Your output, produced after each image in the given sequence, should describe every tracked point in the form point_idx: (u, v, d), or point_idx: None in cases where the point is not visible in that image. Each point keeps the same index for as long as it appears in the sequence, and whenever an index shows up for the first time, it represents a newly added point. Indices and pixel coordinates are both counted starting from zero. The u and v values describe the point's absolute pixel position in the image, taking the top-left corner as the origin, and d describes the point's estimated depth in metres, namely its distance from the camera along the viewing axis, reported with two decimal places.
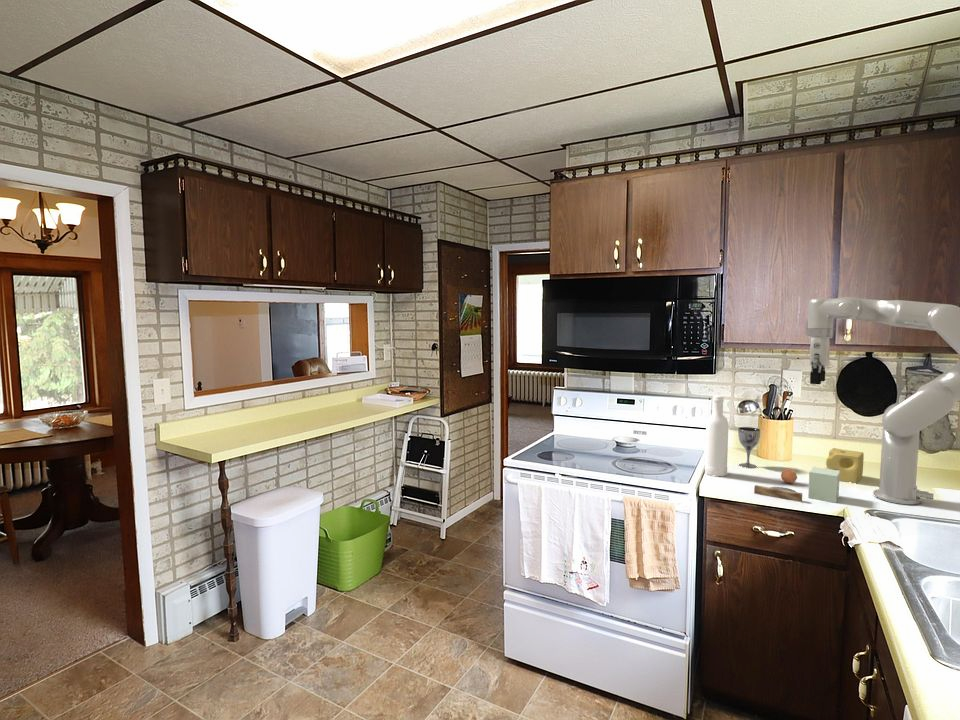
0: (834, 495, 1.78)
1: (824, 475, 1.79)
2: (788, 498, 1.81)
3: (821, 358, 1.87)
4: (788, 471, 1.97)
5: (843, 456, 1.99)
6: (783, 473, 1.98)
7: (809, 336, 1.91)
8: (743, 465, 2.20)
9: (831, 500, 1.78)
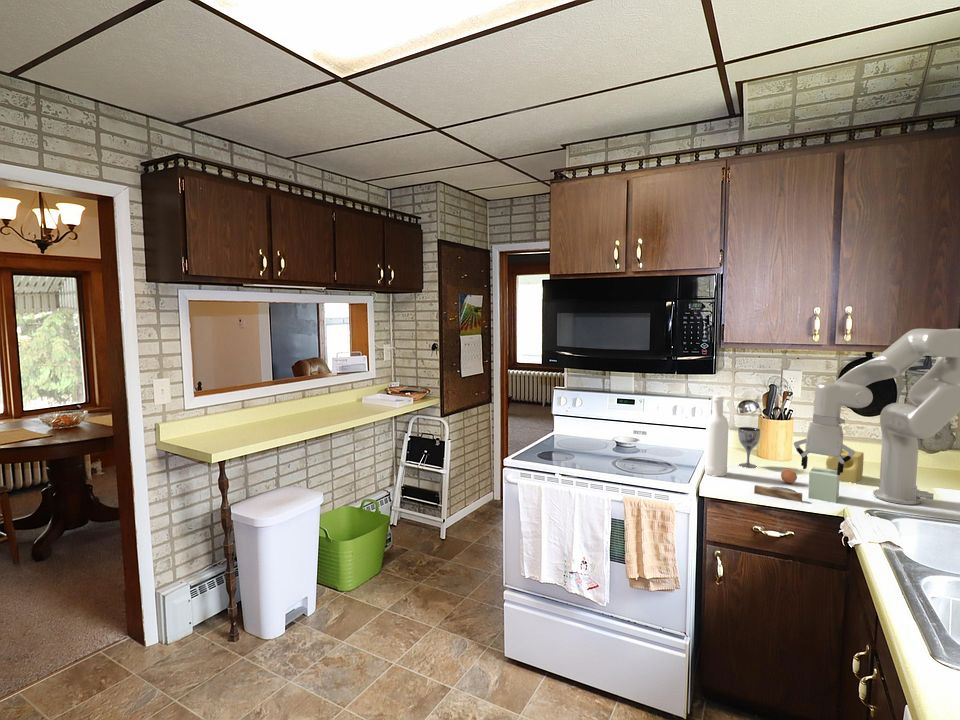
0: (834, 495, 1.78)
1: (824, 475, 1.79)
2: (788, 498, 1.81)
3: None
4: (788, 471, 1.97)
5: (843, 456, 1.99)
6: (783, 473, 1.98)
7: (833, 425, 1.77)
8: (743, 465, 2.20)
9: (831, 500, 1.78)
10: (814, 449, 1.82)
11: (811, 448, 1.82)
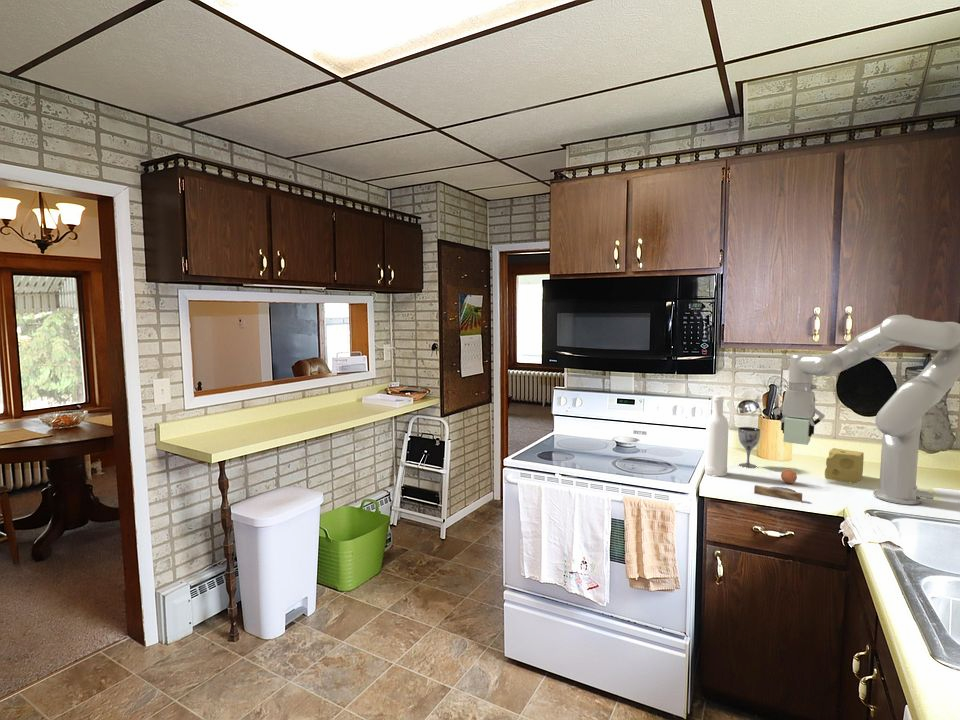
0: (806, 438, 1.99)
1: (797, 420, 2.00)
2: (788, 498, 1.81)
3: None
4: (788, 471, 1.97)
5: (843, 456, 1.99)
6: (783, 473, 1.98)
7: (806, 391, 1.98)
8: (743, 465, 2.20)
9: (803, 443, 2.00)
10: (790, 413, 2.03)
11: (787, 412, 2.03)
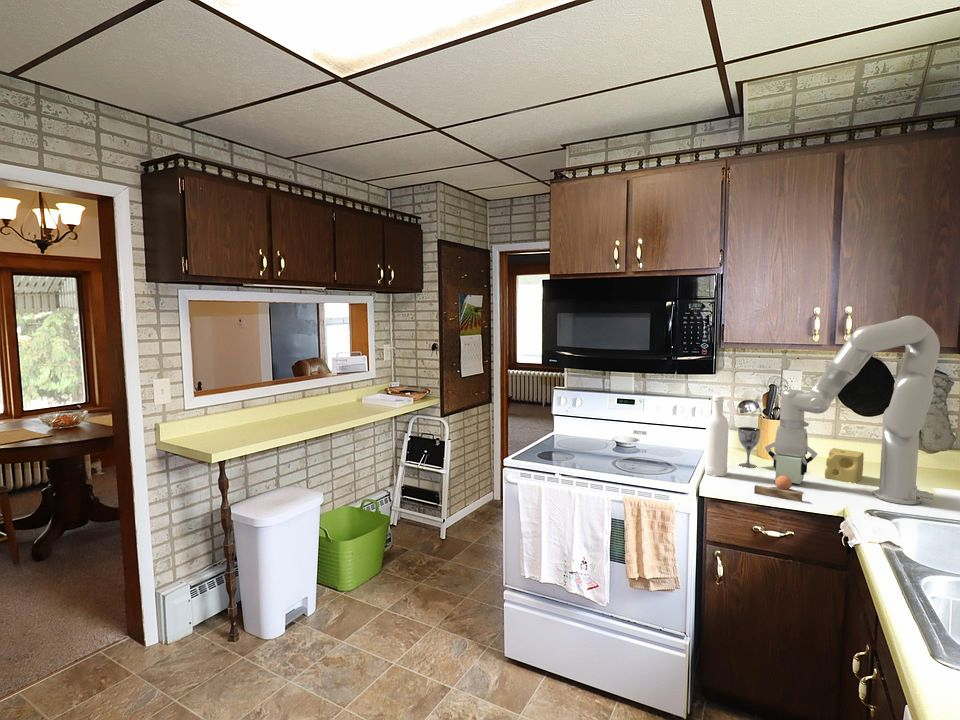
0: (798, 477, 1.94)
1: (789, 459, 1.95)
2: (788, 498, 1.81)
3: None
4: None
5: (843, 456, 1.99)
6: None
7: (798, 428, 1.94)
8: (743, 465, 2.20)
9: (796, 481, 1.94)
10: (782, 450, 1.98)
11: (779, 450, 1.98)
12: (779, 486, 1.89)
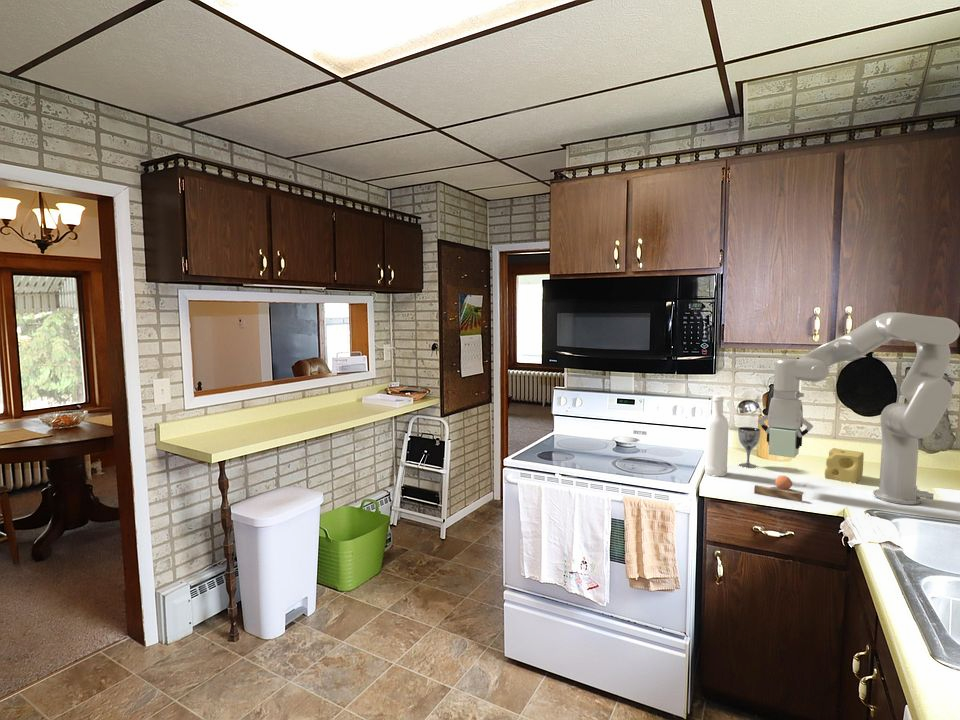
0: (793, 450, 1.83)
1: (783, 431, 1.84)
2: (788, 498, 1.81)
3: None
4: None
5: (843, 456, 1.99)
6: None
7: (792, 399, 1.83)
8: (743, 465, 2.20)
9: (790, 455, 1.84)
10: (776, 423, 1.87)
11: (773, 422, 1.87)
12: (779, 486, 1.89)
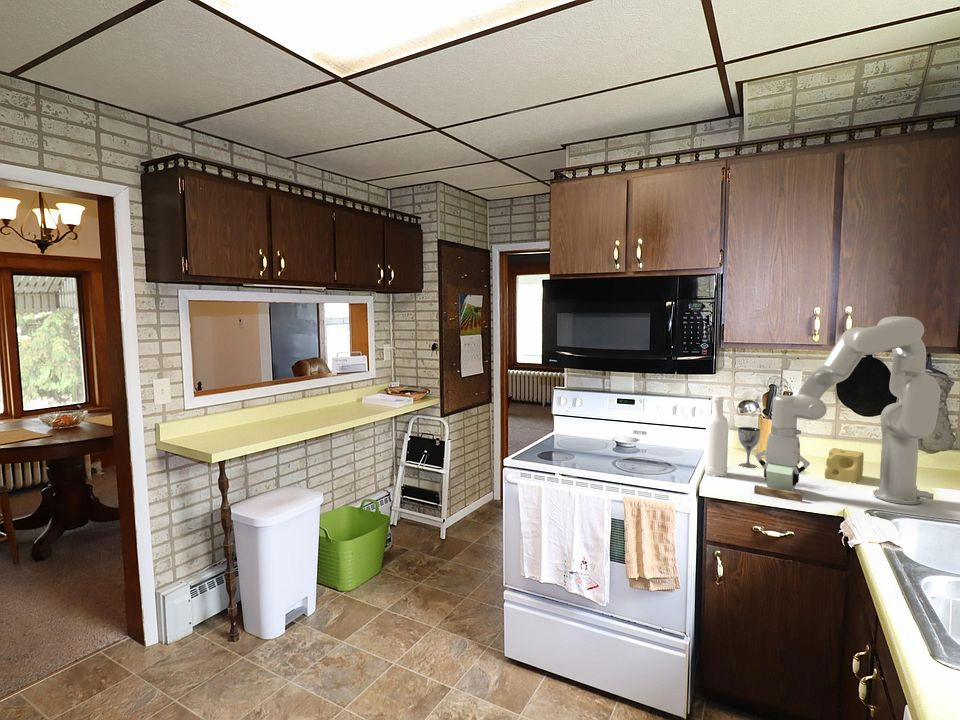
0: (790, 488, 1.86)
1: (779, 474, 1.85)
2: (788, 498, 1.81)
3: None
4: None
5: (843, 456, 1.99)
6: None
7: (790, 436, 1.84)
8: (743, 465, 2.20)
9: None
10: (773, 459, 1.88)
11: (770, 458, 1.89)
12: None
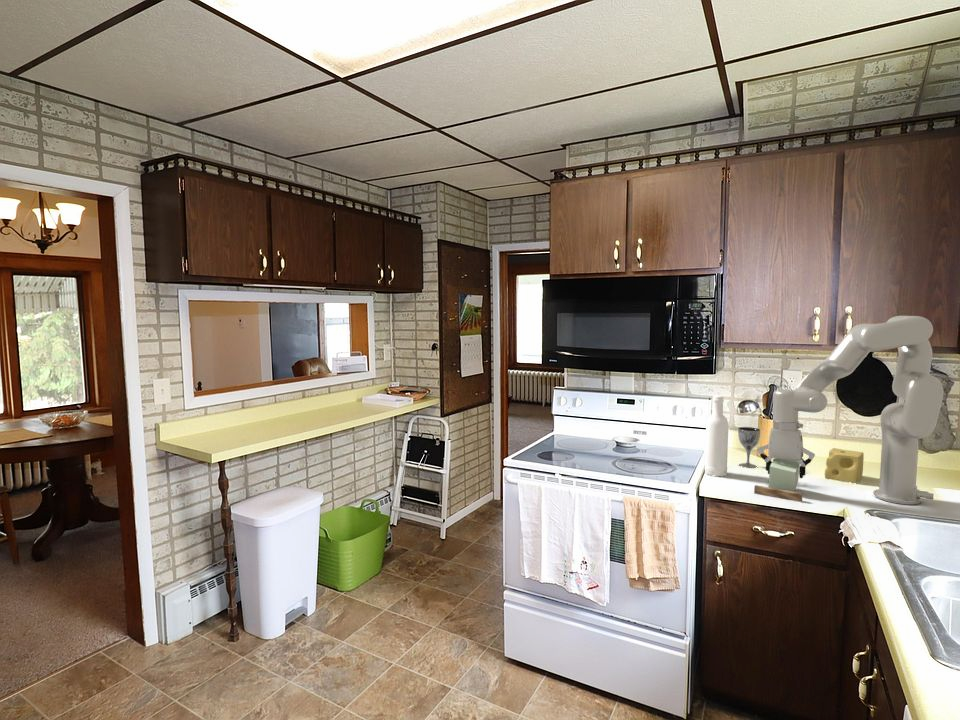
0: (792, 488, 1.86)
1: (783, 470, 1.85)
2: (788, 498, 1.81)
3: None
4: None
5: (843, 456, 1.99)
6: None
7: (792, 430, 1.83)
8: (743, 465, 2.20)
9: None
10: (776, 454, 1.88)
11: (773, 453, 1.88)
12: None
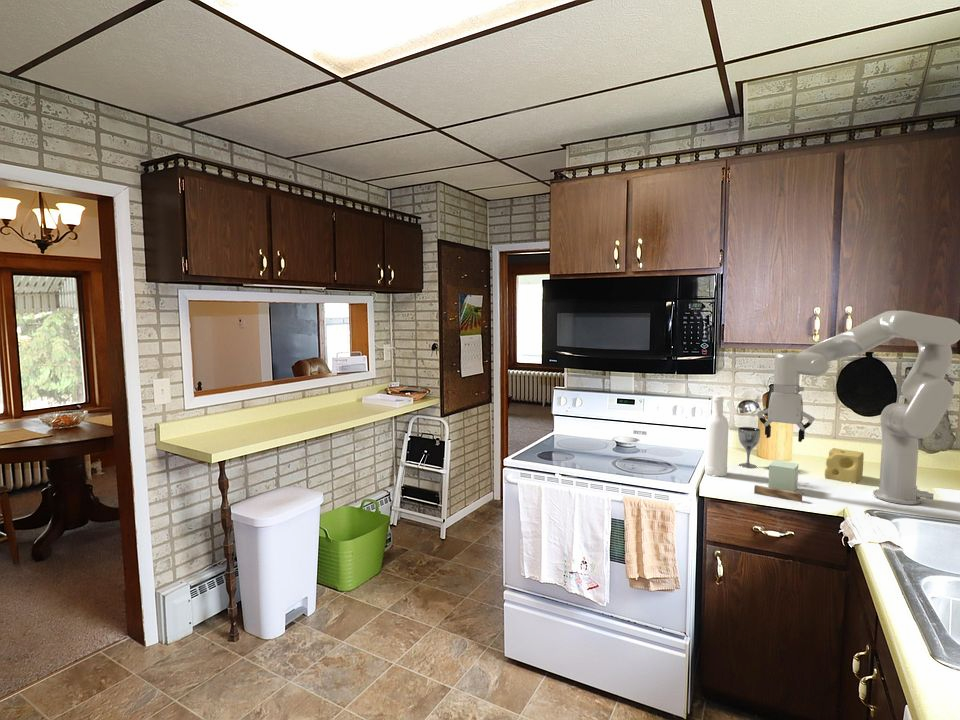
0: (792, 487, 1.86)
1: (783, 468, 1.88)
2: (788, 498, 1.81)
3: None
4: None
5: (843, 456, 1.99)
6: None
7: (792, 393, 1.82)
8: (743, 465, 2.20)
9: None
10: (776, 417, 1.87)
11: (773, 417, 1.87)
12: None
